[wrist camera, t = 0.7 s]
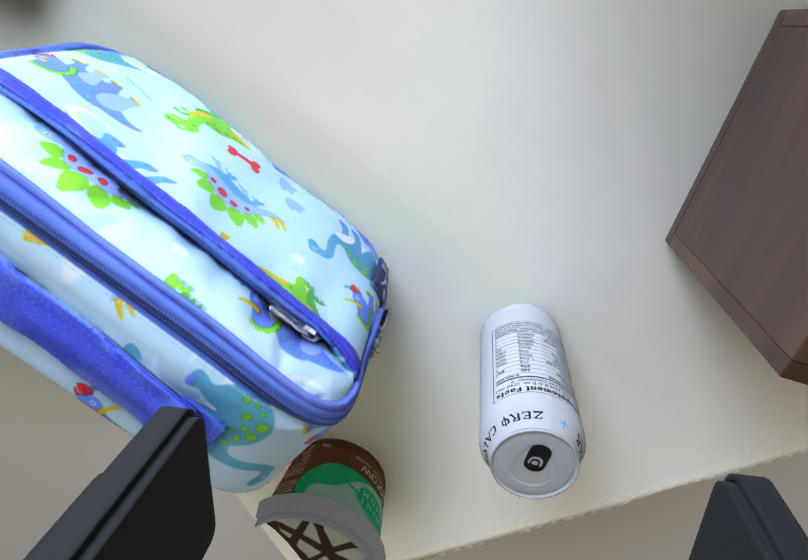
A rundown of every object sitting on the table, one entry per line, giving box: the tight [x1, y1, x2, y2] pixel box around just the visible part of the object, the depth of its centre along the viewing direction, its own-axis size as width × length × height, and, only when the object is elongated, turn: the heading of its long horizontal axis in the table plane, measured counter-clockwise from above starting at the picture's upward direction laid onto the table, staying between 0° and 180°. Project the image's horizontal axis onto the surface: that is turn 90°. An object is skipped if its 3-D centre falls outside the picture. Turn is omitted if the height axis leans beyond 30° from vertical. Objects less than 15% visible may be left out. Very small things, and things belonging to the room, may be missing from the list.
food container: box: [255, 439, 386, 560], centre depth 48 cm, size 12×6×10 cm, turn 39°
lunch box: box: [0, 43, 390, 493], centre depth 34 cm, size 26×11×21 cm, turn 49°
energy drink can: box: [479, 304, 586, 499], centre depth 38 cm, size 6×6×15 cm
